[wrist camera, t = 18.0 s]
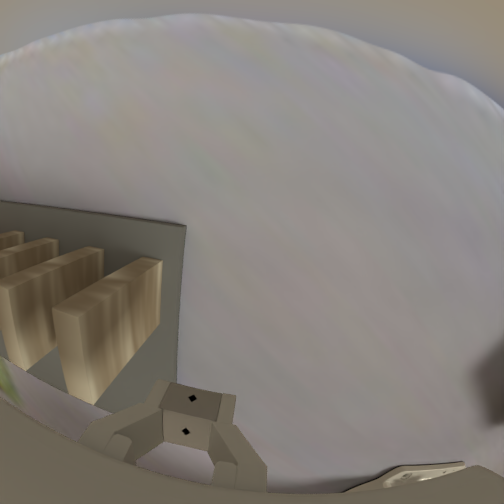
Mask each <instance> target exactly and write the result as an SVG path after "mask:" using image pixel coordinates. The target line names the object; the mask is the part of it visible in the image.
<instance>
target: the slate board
mask: <svg viewBox="0 0 504 504" xmlns="http://www.w3.org/2000/svg"><path fill="white" fill-rule="evenodd" d="M14 230H16V231H21V232H24V241H25V243H28V242H31V241H35V240H38V239H42V238H45V237H48V238H53V239H58V240H59V256H62V255H64V254H67V253H70V252H73V251H75V250H78V249H81V248H84V247H87V246H91V247H96V248H101V249H104V277H106V276H108V275H110V274H112V273H113V272H115V271H117V270H119V269H121V268H122V267H124V266H126V265H128V264H130V263H132V262H134V261H135V260H137V259H139V258H141V257H148V258H153V259H158V260H163V266H162V283H161V305H160V324H159V325H158V326H157V328H156V329H155V330H154V331H153V332H152V334H151V335H150V336H149V337H148V338H147V340H146V341H145V342H144V343H143V345H142V346H141V347H140V348H139V349H138V351H137V352H136V353H135V354H134V355H133V357H132V358H131V359H130V360H129V362H128V363H127V364H126V365H125V366H124V368H123V369H122V370H121V371H120V373H119V374H118V375H117V376H116V378H115V379H114V380H113V381H112V383H111V384H110V385H109V386H108V388H107V389H106V390H105V391H104V393H103V394H102V395H101V396H100V398H99V399H98V400H97V401H96V403H95V404H94V406H96V407H99V408H101V409H104V410H106V411H109V412H111V413H117V412H119V411H122V410H124V409H126V408H129V407H131V406H134V405H136V404H138V403H143V404H144V402H145V401H146V399H147V397H148V395H149V393H150V391H151V390H152V388H153V386H154V384H155V382H156V381H157V380H158V379H162V380H166V381H169V382H174V383H177V347H178V325H179V307H180V292H181V279H182V267H183V255H184V245H185V235H186V226H185V225H178V224H172V223H165V222H158V221H151V220H144V219H137V218H130V217H123V216H116V215H109V214H101V213H94V212H86V211H79V210H71V209H64V208H56V207H48V206H40V205H32V204H24V203H16V202H7V201H0V234H2V233H6V232H10V231H14ZM0 355H1V356H2V357H4V358H5V359H7V360H8V361H9V357H8V354H7V350H6V346H5V343H4V339H3V335H2V330H1V331H0ZM16 366H17V365H16ZM26 372H28V373H30V374H31V375H33V376H35V377H37V378H38V379H40V380H42V381H44V382H46V383H48V384H50V385H51V386H53V387H55V388H57V389H59V390H61V391H63V392H65V393H67V394H69V393H68V389H67V386H66V382H65V378H64V373H63V369H62V365H61V360H60V355H59V350H58V346H56V347H55V348H54V349H53V350H51V351H50V352H49V353H48V354H46V355H45V356H44V357H43V358H41V359H40V360H39V361H38V362H36V363H35V364H34V365H33V366H31V367H30V368H29V369H28V370H27V371H26ZM69 395H70V394H69ZM80 400H81V399H80ZM82 401H83V400H82ZM89 404H90V403H89Z"/></svg>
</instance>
